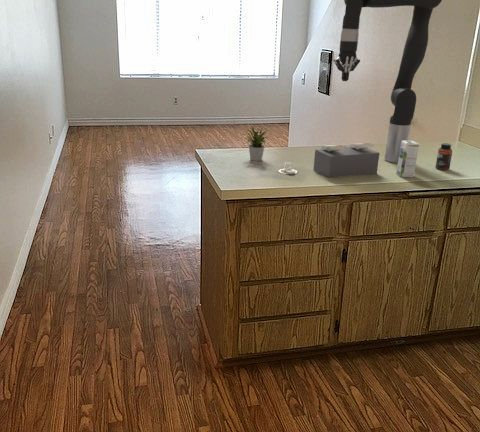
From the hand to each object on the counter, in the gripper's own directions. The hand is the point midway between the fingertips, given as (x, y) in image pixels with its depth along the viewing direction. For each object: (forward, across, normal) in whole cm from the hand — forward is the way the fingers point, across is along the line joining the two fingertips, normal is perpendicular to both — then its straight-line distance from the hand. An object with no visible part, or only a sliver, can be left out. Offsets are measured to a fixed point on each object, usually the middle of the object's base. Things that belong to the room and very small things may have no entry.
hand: (344, 81), depth 234 cm
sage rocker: (+24, -17, -22) cm, 37 cm away
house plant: (+35, -40, +7) cm, 54 cm away
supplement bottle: (+35, +36, -30) cm, 59 cm away
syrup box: (+35, +12, -34) cm, 50 cm away
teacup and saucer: (+36, -37, -16) cm, 54 cm away
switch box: (+35, -10, -22) cm, 43 cm away
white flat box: (+24, -3, -22) cm, 33 cm away
